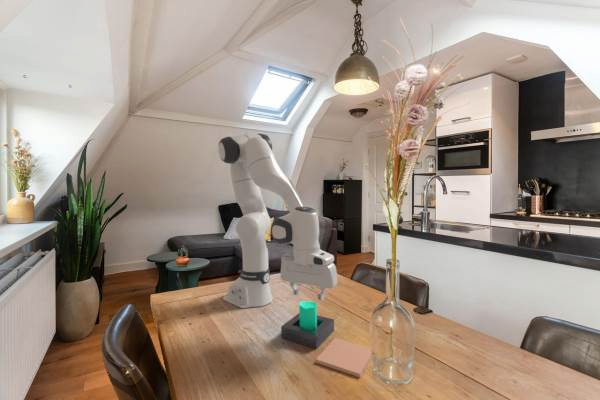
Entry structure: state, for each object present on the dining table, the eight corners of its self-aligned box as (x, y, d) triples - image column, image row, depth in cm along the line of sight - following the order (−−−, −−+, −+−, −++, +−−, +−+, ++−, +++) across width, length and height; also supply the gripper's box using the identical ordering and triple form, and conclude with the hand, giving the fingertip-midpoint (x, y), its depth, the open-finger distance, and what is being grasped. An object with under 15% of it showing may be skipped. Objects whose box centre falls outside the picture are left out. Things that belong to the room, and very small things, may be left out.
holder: (281, 338, 96) (281, 326, 95) (301, 322, 107) (301, 311, 106) (316, 349, 89) (316, 336, 89) (334, 330, 100) (333, 319, 100)
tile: (316, 362, 82) (315, 359, 82) (334, 341, 93) (334, 338, 93) (360, 377, 75) (360, 373, 75) (374, 352, 87) (374, 349, 87)
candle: (295, 334, 98) (295, 299, 97) (307, 328, 102) (307, 294, 101) (309, 341, 93) (308, 304, 93) (320, 334, 98) (320, 299, 97)
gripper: (275, 255, 99) (277, 294, 99) (330, 261, 88) (331, 305, 89) (286, 251, 104) (287, 289, 105) (338, 256, 94) (340, 298, 94)
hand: (308, 296), depth 97 cm, fingers open, 8 cm apart
